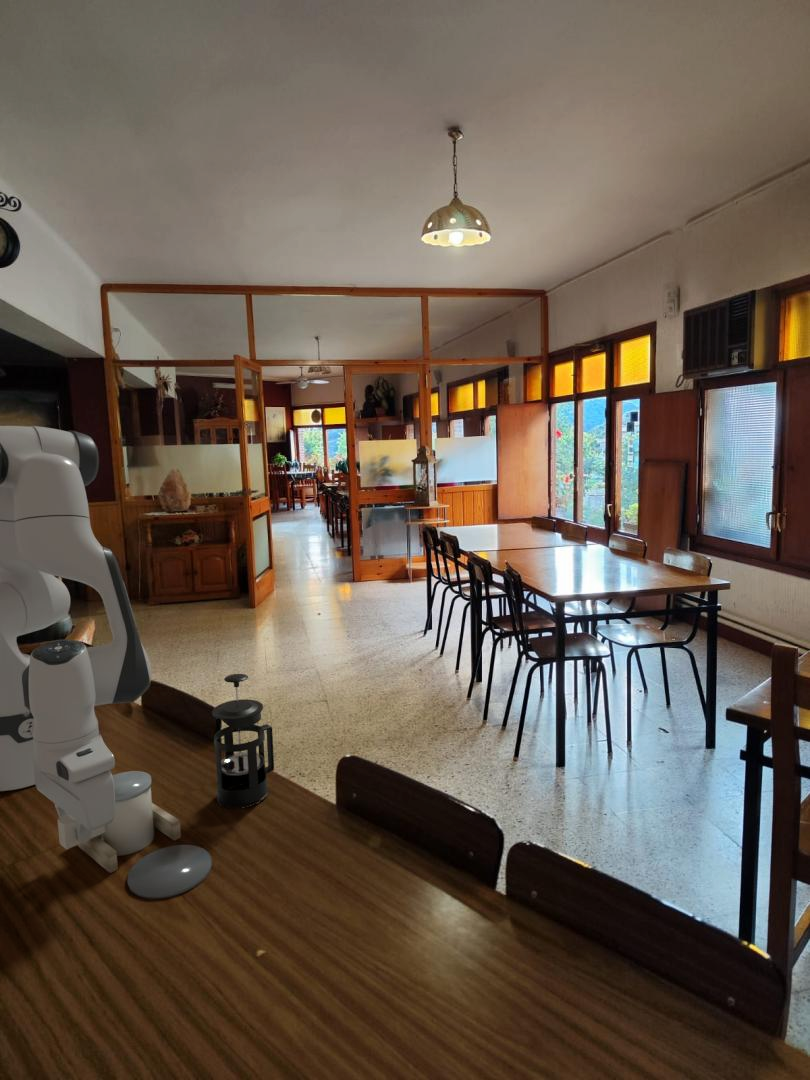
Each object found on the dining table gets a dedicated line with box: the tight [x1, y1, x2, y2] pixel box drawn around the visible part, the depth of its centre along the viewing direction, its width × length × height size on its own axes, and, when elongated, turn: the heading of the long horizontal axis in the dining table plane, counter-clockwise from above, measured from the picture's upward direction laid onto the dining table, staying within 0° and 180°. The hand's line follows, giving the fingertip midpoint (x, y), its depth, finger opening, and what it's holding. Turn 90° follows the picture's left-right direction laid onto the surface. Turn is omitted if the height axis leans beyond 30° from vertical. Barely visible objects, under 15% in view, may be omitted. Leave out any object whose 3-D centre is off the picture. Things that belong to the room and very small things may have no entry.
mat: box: [127, 844, 213, 900], centre depth 100 cm, size 12×12×1 cm
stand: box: [76, 802, 182, 874], centre depth 108 cm, size 12×12×3 cm
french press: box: [212, 673, 275, 809], centre depth 121 cm, size 12×9×23 cm
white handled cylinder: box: [56, 770, 155, 857], centre depth 106 cm, size 14×8×10 cm, turn 140°
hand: (76, 833), depth 102 cm, fingers open, 4 cm apart
